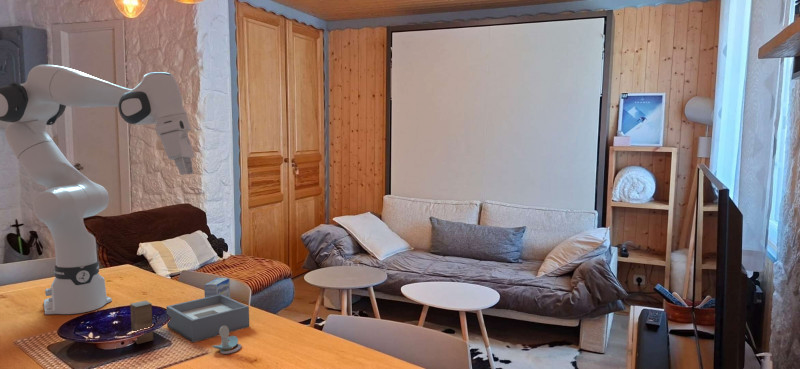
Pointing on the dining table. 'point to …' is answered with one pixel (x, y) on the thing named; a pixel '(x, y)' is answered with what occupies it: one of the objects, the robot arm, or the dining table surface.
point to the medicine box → (217, 287)
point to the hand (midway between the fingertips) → (187, 174)
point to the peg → (142, 319)
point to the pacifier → (225, 344)
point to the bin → (207, 317)
